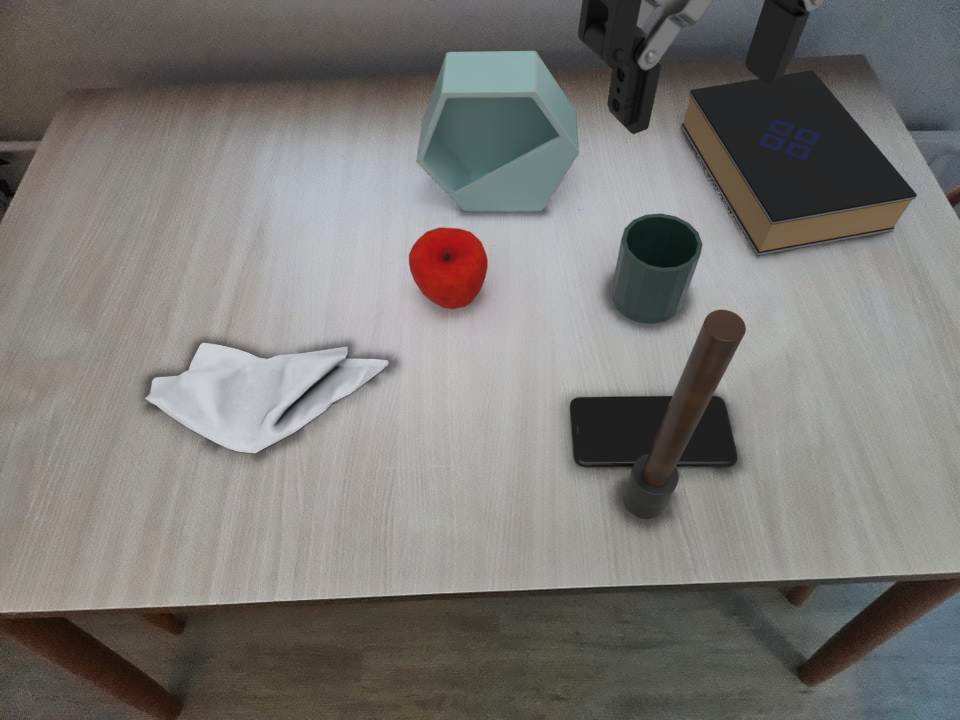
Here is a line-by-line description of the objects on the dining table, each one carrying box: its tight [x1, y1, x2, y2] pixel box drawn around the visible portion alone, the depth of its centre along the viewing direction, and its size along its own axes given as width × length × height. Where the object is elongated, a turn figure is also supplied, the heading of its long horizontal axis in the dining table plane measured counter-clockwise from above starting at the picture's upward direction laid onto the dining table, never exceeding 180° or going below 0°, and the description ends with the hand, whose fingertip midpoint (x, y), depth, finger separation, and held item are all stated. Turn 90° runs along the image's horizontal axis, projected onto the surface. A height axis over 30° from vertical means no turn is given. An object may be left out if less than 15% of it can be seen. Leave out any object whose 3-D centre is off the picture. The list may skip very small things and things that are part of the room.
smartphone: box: [569, 395, 739, 469], centre depth 65 cm, size 8×1×16 cm
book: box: [680, 69, 918, 257], centre depth 82 cm, size 17×25×7 cm
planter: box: [415, 50, 580, 213], centre depth 78 cm, size 17×8×21 cm
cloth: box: [144, 342, 390, 454], centre depth 69 cm, size 26×14×2 cm, turn 85°
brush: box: [622, 309, 747, 520], centre depth 50 cm, size 4×4×28 cm
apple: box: [408, 226, 489, 310], centre depth 73 cm, size 9×9×8 cm
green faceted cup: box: [610, 213, 703, 324], centre depth 71 cm, size 8×8×9 cm
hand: (697, 98), depth 34 cm, fingers open, 8 cm apart
